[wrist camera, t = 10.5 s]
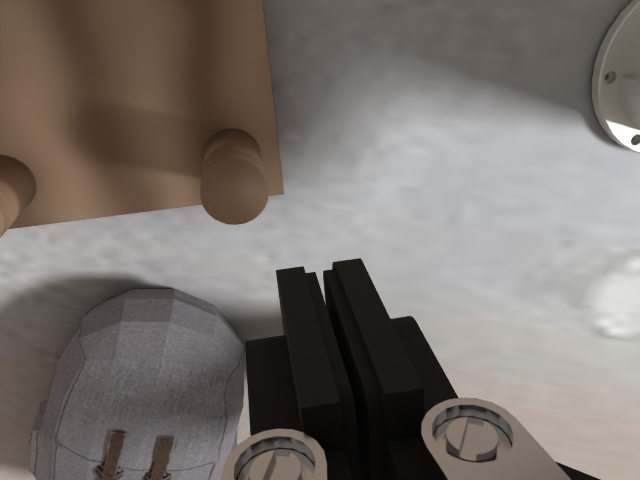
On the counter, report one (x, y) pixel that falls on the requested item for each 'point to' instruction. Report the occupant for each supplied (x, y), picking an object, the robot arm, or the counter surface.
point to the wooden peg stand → (134, 109)
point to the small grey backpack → (143, 393)
